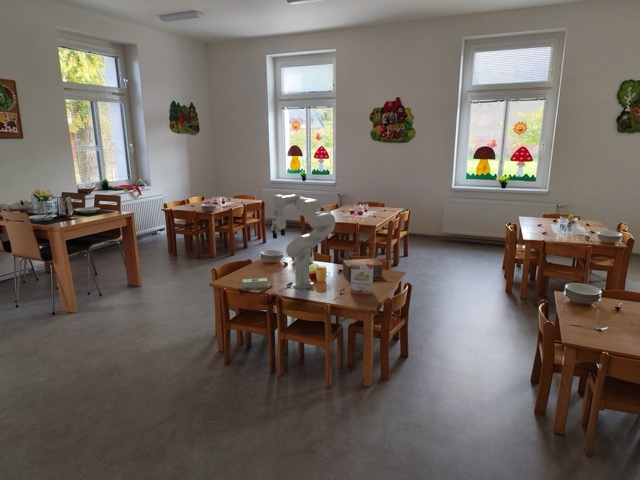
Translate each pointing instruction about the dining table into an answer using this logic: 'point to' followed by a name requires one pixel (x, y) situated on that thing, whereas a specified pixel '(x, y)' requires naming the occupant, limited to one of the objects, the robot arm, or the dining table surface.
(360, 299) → the dining table surface
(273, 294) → the dining table surface
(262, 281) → the flange bar
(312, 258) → the milk container
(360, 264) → the cracker box
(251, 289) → the board
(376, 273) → the tissue box cover
